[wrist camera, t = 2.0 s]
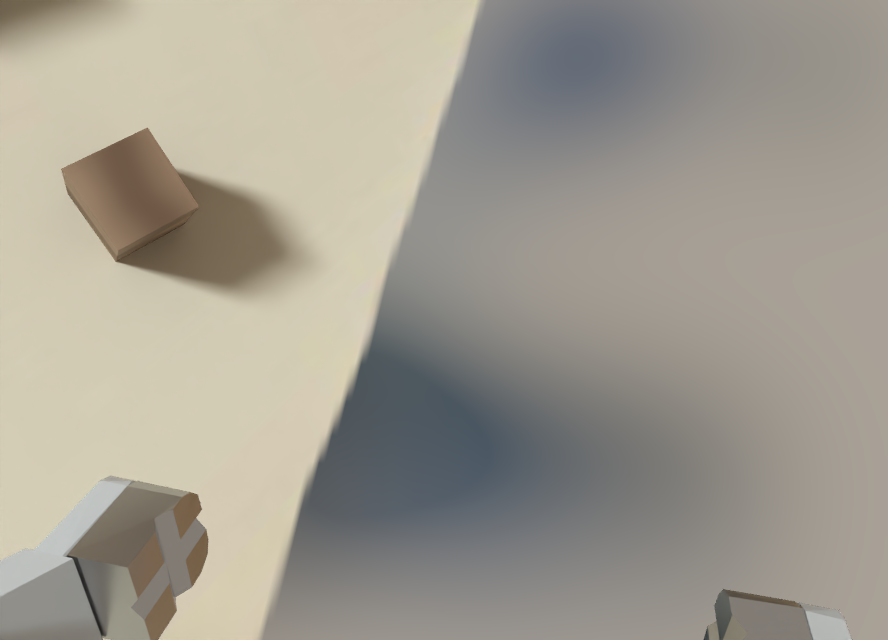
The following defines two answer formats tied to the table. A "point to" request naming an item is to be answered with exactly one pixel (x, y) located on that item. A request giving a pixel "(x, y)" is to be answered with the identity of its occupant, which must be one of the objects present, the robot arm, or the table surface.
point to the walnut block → (129, 193)
